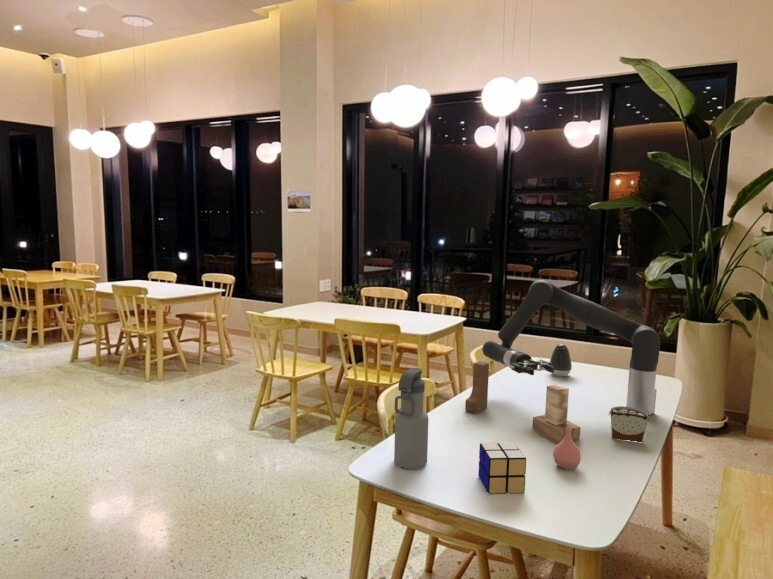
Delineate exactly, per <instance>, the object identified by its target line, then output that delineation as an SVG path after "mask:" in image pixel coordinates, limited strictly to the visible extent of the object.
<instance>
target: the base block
mask: <svg viewBox="0 0 773 579" xmlns="http://www.w3.org/2000/svg"><path fill="white" fill-rule="evenodd" d="M567 427H569V428H571V437H572V440H573V442H574V443H575V442H578V441H580V439H581V438H580V437H581V426H579V425H577V424H575V423H573V422H571V421H569V420H567V423H565V424H559V425H554V424H552V423H550V422H547V421H545V414H543V415H538V416H532V427H531V430H532V431H534V432H536V433H537V434H539V435H541V436H543V437H545V438H547V439H548V440H549V441H552V442H553V443H555V444H556V445H557V444H559V443H560V442H561V441H562V440H563V438H564V437H565V436H566V428H567Z"/></svg>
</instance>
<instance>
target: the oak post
mask: <svg viewBox="0 0 773 579" xmlns="http://www.w3.org/2000/svg"><path fill="white" fill-rule="evenodd" d="M569 392H570V388H568V387H565V386H563V385H560V384H551V385H546V393H545V396H546V397H545V410H544V412H545V413H544V415H545V421H547V422H550V423H552V424H554V425H559V424H565V423H567V421H568V408H569V406H568V405H569Z"/></svg>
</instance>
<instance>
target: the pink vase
mask: <svg viewBox="0 0 773 579" xmlns="http://www.w3.org/2000/svg"><path fill="white" fill-rule="evenodd" d="M552 456H553V460H554V463H555V465H557V466H558V467H561V468H562V469H565V470H570V469H575V468H578V466H579V465H580V462H581V459H582V456H581V450H580V449H579V448H578V446H577V445H576V444H575V441H574V442H573V440H572V437H571V428H569V427H567V428H566V436H565V437H564V438H563V440H562V441H561V442H560V443H559V444H557V443H556V445H555V446H554V449H553V453H552Z"/></svg>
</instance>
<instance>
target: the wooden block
mask: <svg viewBox="0 0 773 579" xmlns="http://www.w3.org/2000/svg"><path fill="white" fill-rule="evenodd" d="M472 365H473V366H472V368H473V370H472V371H473V372H472V389H471V393H470V395H469V397H468V398H466V399H465V409H464V410H466V412H468V411H469V412H468V413H471V412H473V413H472V414H474V413H475V414H477V413H479V412H481V410H482V411H483V409H484V410H486V409H487V408H488V396H489V395H488V394H489V374H490V373H489V372H490V371H489V369H490V363H489V362H485V361H481V360H480V361H477V362H474V363H473V364H472ZM485 408H486V409H485Z"/></svg>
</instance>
